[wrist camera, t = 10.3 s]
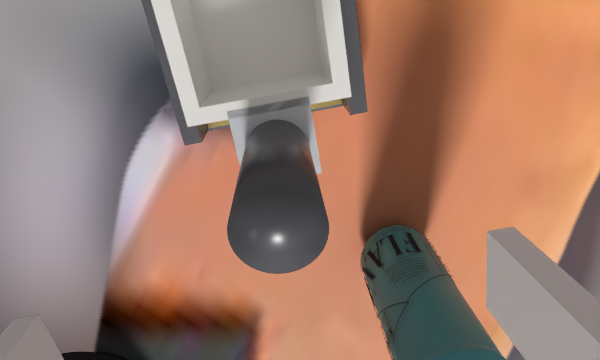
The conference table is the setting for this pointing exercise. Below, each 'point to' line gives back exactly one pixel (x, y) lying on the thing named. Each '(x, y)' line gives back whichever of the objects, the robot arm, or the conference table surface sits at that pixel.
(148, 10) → the bay
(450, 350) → the beverage bottle
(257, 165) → the open tray with handle
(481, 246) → the conference table surface
